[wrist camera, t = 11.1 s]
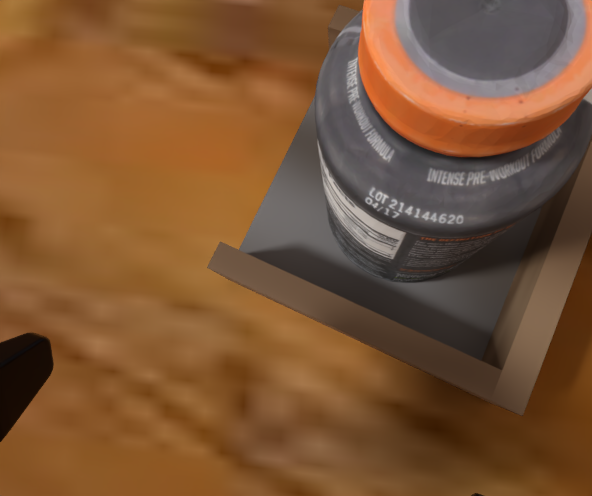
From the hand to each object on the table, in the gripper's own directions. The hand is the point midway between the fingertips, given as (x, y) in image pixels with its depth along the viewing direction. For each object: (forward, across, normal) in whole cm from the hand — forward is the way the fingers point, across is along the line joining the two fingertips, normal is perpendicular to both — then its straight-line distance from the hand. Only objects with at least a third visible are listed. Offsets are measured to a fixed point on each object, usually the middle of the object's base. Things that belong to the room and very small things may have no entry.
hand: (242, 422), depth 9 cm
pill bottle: (+11, -2, 0) cm, 12 cm away
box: (+12, -2, 0) cm, 12 cm away
